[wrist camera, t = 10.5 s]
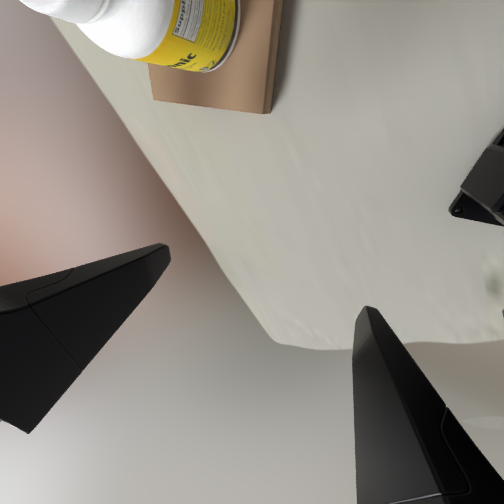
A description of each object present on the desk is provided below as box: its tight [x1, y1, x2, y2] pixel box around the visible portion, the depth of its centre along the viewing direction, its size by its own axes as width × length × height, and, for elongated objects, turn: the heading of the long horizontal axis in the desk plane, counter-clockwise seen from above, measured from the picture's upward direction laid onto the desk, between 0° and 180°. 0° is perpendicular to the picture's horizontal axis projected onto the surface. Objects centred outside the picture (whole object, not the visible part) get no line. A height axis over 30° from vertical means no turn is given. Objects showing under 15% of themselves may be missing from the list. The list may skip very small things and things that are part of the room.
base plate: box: [148, 0, 283, 114], centre depth 14 cm, size 9×9×2 cm
